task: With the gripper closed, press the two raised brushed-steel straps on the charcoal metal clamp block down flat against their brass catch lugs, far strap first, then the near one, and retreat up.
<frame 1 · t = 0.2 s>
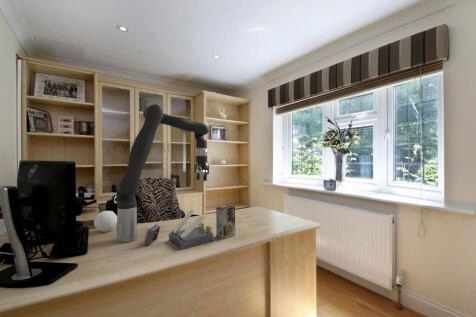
hand: (201, 180, 149), 29 cm above the table, fingers open, 8 cm apart
far strap: (183, 221, 122), point 9 cm above the table, hinge at 45.0°
near strap: (192, 227, 116), point 9 cm above the table, hinge at 35.0°
grey irregular chunk: (151, 242, 118), on the table
clamp block: (191, 240, 120), on the table
decorative ball: (106, 231, 136), on the table
coffee box: (225, 235, 128), on the table
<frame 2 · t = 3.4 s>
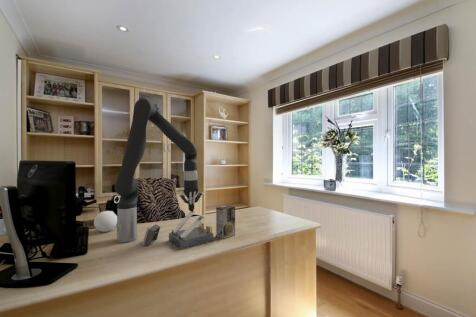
hand: (191, 210, 125), 15 cm above the table, fingers closed
far strap: (183, 222, 123), point 9 cm above the table, hinge at 42.7°, touching gripper
everything else where it was.
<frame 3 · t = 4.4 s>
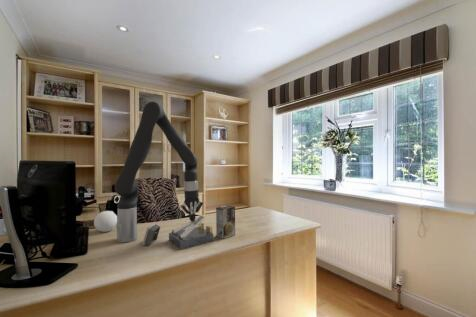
hand: (192, 220, 126), 9 cm above the table, fingers closed
far strap: (186, 225, 123), point 7 cm above the table, hinge at 19.8°, touching gripper
everything else where it was.
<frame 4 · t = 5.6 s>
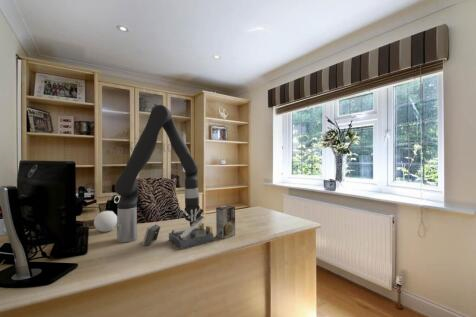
hand: (192, 227, 125), 5 cm above the table, fingers closed
far strap: (186, 230, 124), point 5 cm above the table, hinge at -0.2°, touching gripper
everything else where it was.
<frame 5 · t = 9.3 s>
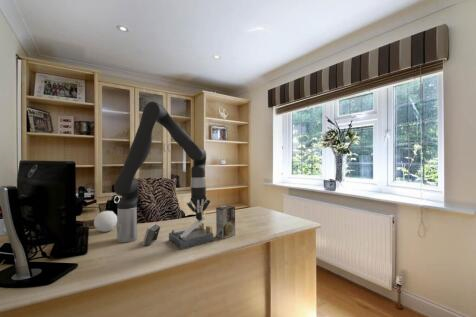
hand: (198, 219, 118), 12 cm above the table, fingers closed
far strap: (186, 230, 124), point 5 cm above the table, hinge at -0.3°
near strap: (192, 227, 116), point 8 cm above the table, hinge at 33.1°, touching gripper
everything else where it was.
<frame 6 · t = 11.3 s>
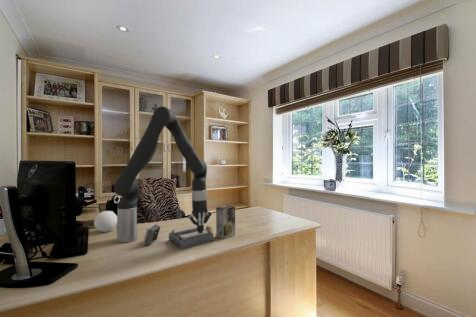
hand: (200, 232, 118), 5 cm above the table, fingers closed
near strap: (194, 234, 117), point 5 cm above the table, hinge at -0.1°, touching gripper
everything else where it was.
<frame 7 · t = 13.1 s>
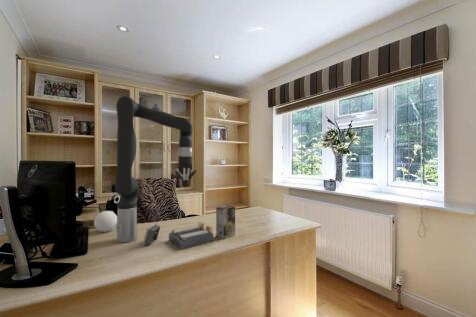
hand: (184, 186, 127), 27 cm above the table, fingers closed
near strap: (194, 234, 117), point 5 cm above the table, hinge at -0.1°
everything else where it was.
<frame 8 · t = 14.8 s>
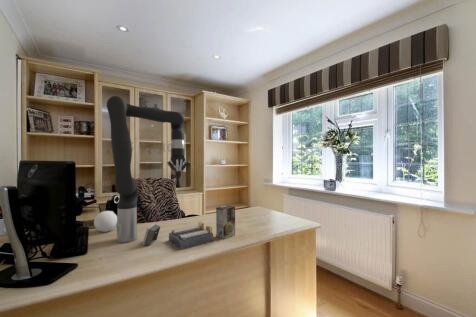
hand: (178, 177, 133), 32 cm above the table, fingers closed
nothing on the table moved.
at the end: far strap at +0° (first picture: +45°); near strap at +0° (first picture: +35°) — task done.
